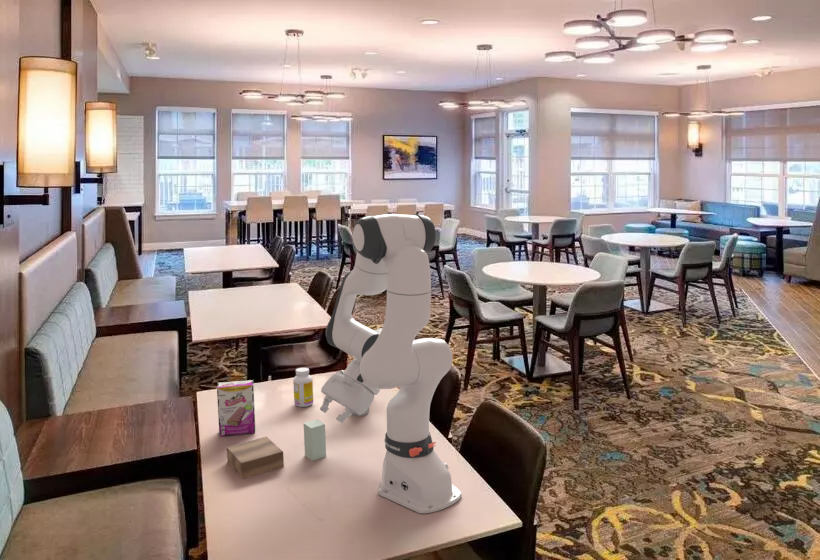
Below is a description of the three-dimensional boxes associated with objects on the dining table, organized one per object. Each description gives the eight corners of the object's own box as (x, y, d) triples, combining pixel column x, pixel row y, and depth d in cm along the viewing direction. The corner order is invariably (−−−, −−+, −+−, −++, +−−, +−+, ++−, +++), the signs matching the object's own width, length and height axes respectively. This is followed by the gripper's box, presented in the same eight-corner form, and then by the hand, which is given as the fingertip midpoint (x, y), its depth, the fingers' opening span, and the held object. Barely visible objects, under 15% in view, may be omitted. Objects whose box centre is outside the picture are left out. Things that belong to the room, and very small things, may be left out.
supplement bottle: (315, 401, 228) (314, 366, 226) (310, 408, 222) (309, 372, 219) (297, 400, 229) (295, 366, 226) (292, 407, 222) (290, 372, 220)
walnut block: (283, 468, 179) (283, 451, 178) (242, 480, 172) (241, 463, 171) (267, 452, 189) (266, 436, 188) (227, 463, 182) (226, 447, 181)
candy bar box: (219, 437, 198) (216, 387, 195) (220, 431, 203) (216, 382, 200) (256, 433, 201) (253, 384, 198) (255, 427, 206) (253, 379, 203)
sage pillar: (326, 456, 185) (325, 424, 183) (312, 460, 182) (311, 428, 180) (318, 451, 188) (317, 419, 187) (304, 455, 186) (303, 423, 184)
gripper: (333, 363, 197) (306, 400, 193) (370, 381, 181) (341, 421, 177) (345, 374, 201) (319, 410, 197) (383, 392, 185) (355, 432, 181)
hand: (330, 416), depth 187 cm, fingers open, 8 cm apart
